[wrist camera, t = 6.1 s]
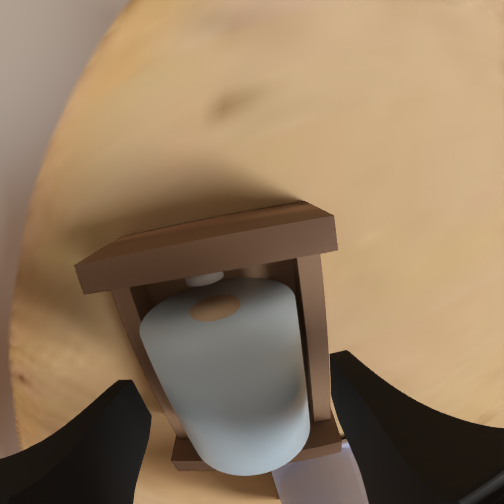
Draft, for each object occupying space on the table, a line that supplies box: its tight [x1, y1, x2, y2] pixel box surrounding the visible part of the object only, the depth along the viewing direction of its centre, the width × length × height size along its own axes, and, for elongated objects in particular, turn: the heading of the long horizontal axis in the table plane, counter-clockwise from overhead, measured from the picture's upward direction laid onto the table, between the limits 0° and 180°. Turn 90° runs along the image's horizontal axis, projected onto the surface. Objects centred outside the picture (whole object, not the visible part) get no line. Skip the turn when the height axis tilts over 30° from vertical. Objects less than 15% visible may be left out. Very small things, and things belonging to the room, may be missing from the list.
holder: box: [74, 201, 342, 471], centre depth 11 cm, size 11×8×4 cm
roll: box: [139, 278, 310, 476], centre depth 10 cm, size 6×5×5 cm
